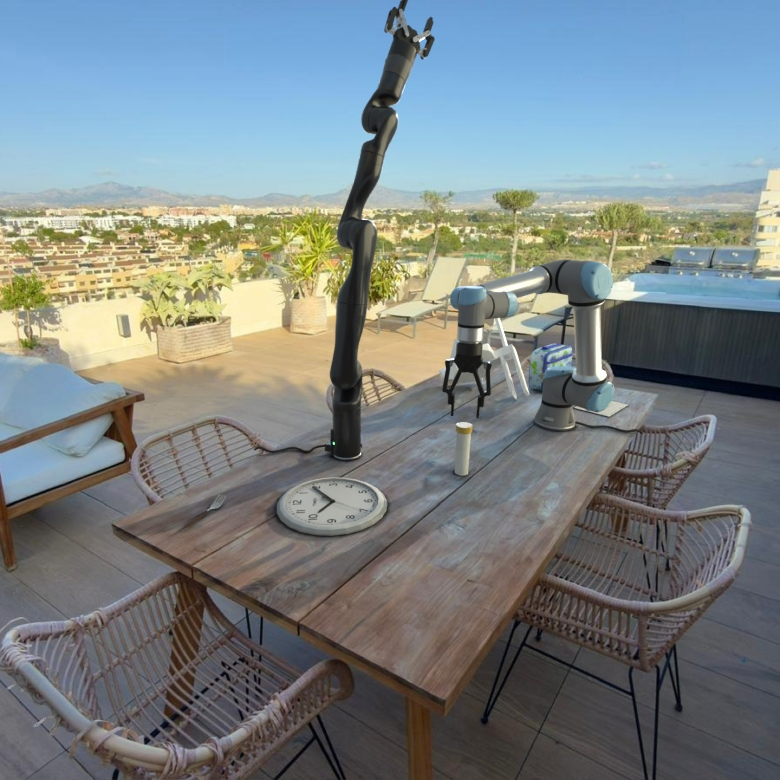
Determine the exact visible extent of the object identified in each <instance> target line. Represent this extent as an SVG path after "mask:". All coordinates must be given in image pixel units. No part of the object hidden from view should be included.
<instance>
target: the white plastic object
mask: <svg viewBox="0 0 780 780" xmlns="http://www.w3.org/2000/svg"><path fill="white" fill-rule="evenodd" d="M494 321H495V324H496V325H495V326H496V328H497V332H498V335H499V338H500V342H501V345H502V347H500V348H498V349H496V350H495V349H493V348H492V347H491V346H490V344H489V343H488V342H487V343H483V347H482V358H483V361H487V362H489V361H491V362H492V366H491V369H490V373H492V372H494V371H495V370H496V369H497V368H499V367H500V366H502V370H503V373H504V376H505V380H506V383H507V386H508V390H509V393H510V394H511V395H512V397H513V398H514V399H515V400H517V392H516V391H517V390H516V388H515V385H514V381H513V378H512V375H511V371H510V369H509V365H508V361H510V360H513V363H514V366H515V369H516V372H517V376H518V380H519V382H520V385H521V389H522V391H523V393H524V395H525V396H526V397H528V396H531V395H530V390H529V386H528V384H527V381H526V378H525V375H524V371H523V369H522V368H523V367H522V366H521V362H520V359H519V355H518V352H517V349H516V347H515V346H514V345H513V343H511V344H508V341H507V337H506V334H505V331H504V328H503V325H502V321H501V318H494ZM457 341H459V340H457V338H454V340H453V344H452V349H451V353H450V357H449V359H454V358H455V356H456V343H457ZM445 371H446V367H444V368H442V369H440V370H439V371H438V372H439V376H440V381H442V383H443V382H444V377H445ZM457 371H458V367H457V366H456V364H455V363H453V365H452V366H451V368H450V374H449V380H448V386H449V385H450V386H451V385H452V382H453V380H454V378H455V376H456V374H457ZM478 372H479V376H480V379H481V382H482V381H484V378H486V369H484V365H483V364H482V365H481V366H480V367H479V368H478ZM467 383H468V384H469V383H473V384H476V380H475V377H474V375H473V373H468V372H466V373H461V375H460V377H459V380H458V382H457V384H456V385H458V384H467Z"/></svg>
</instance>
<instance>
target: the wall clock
mask: <svg viewBox="0 0 780 780" xmlns="http://www.w3.org/2000/svg"><path fill="white" fill-rule="evenodd" d="M387 509H388V500H387V498H386V496H385V494H384V493H383V492H382V491H381V490H380V489H379V488H377V487H376V486H374V485H372V484H371V483H369V482H365V481H362V480H359V479H355V478H349V477H338V476H337V477H335V476H333V477H332V476H331V477H322V478H317V479H312V480H307V481H305V482H302V483H299V484H297V485H295V486H293V487H292V488H290V489H288V490H287V491H286V492H285V493H284V494H283V495H281V496H280V498H279V499H278V502H277V503H276V515H277V517H278V518H279V520H280V521H281V522H282V523H283V524H285V525H286V526H287V527H288V528H290V529H293V530H295V531H297V532H299V533H303V534H308V535H312V536H327V537H328V536H329V537H331V536H332V537H333V536H342V535H350V534H352V533H356V532H361V531H363V530H366V529H368V528H369V527H372V526H373V525H375V524H376V523H378V522H379V521H380V520H381V519H382V518H383V517H384V516H385V514H386V512H387Z"/></svg>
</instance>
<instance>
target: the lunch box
mask: <svg viewBox="0 0 780 780" xmlns="http://www.w3.org/2000/svg"><path fill="white" fill-rule="evenodd" d="M573 356H574V355H573V347H572V346H571V345H566V344H560V343H551V344H548V345H544V346H541V347H538V348H536V349H534V350H533V351H532V353H531V355H530V359H529V370H528V371H529V372H528V389H531V390H536V391H541V392H542V391H543V380H544V379H543V378H544V375H545V370H546V369H547V368H549V367H555V366H570V367H572V365H573V363H572V362H573Z"/></svg>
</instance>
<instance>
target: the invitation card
mask: <svg viewBox="0 0 780 780" xmlns="http://www.w3.org/2000/svg"><path fill="white" fill-rule="evenodd" d="M628 406H629V404H627V403H623V402H618V401H614V400H612V401H611V402H610V404H609V405H608V407H607V408H606V409H604V410H603V411H601V412H593V411H587V410H586V409H583V408H580V407H578V406H574V407H573V409H575V410H581V411H584V412H587V413H593V414H596V415H600V416H604V417H608V418H609V417H611V416H613V415H614V414H616V413H617V412H619V411H621V410H623V409H624V408H626V407H628Z"/></svg>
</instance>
